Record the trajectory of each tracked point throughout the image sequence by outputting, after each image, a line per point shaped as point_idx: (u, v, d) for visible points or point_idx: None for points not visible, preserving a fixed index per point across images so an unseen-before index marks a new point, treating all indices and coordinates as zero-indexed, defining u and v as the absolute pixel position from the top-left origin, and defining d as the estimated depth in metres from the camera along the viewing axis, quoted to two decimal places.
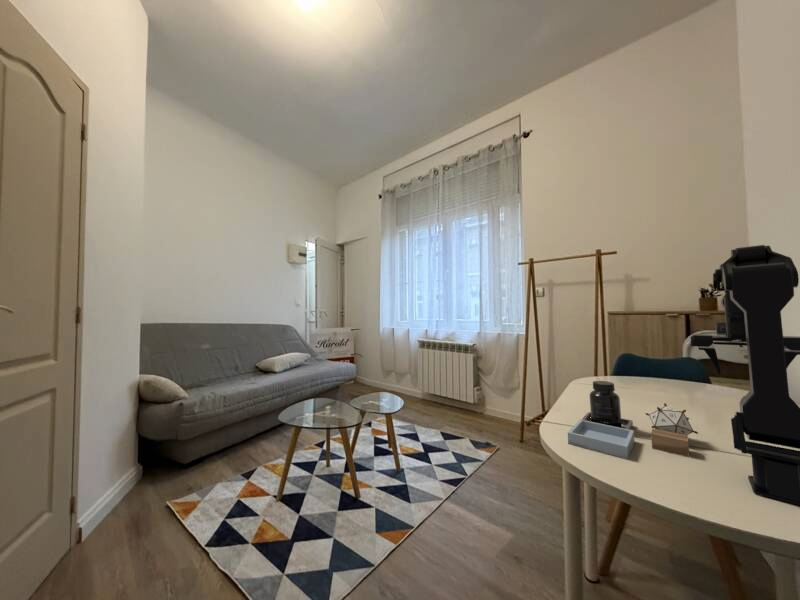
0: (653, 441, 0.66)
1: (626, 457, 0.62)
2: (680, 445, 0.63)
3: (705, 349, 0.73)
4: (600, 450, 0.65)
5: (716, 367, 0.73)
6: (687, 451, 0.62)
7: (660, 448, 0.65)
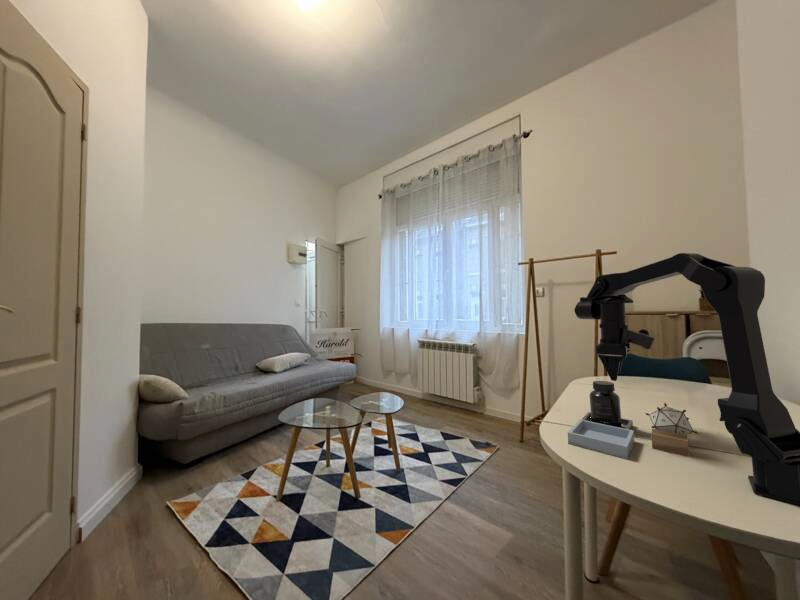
0: (653, 441, 0.66)
1: (626, 457, 0.62)
2: (680, 445, 0.63)
3: None
4: (600, 450, 0.65)
5: None
6: (687, 451, 0.62)
7: (660, 448, 0.65)
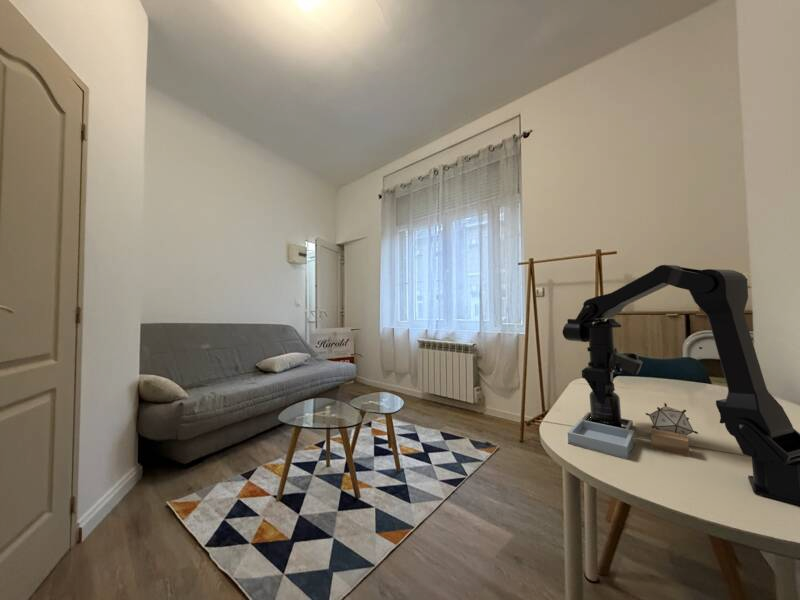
0: (653, 441, 0.66)
1: (626, 457, 0.62)
2: (680, 445, 0.63)
3: None
4: (600, 450, 0.65)
5: None
6: (687, 451, 0.62)
7: (660, 448, 0.65)
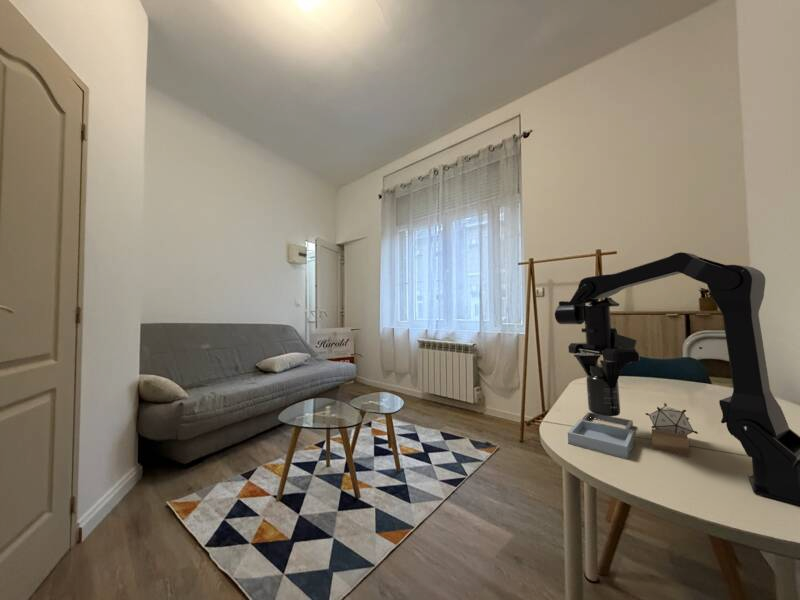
0: (654, 441, 0.66)
1: (626, 457, 0.62)
2: (681, 445, 0.63)
3: (575, 356, 0.81)
4: (600, 450, 0.65)
5: (586, 373, 0.79)
6: (688, 451, 0.62)
7: (661, 448, 0.65)
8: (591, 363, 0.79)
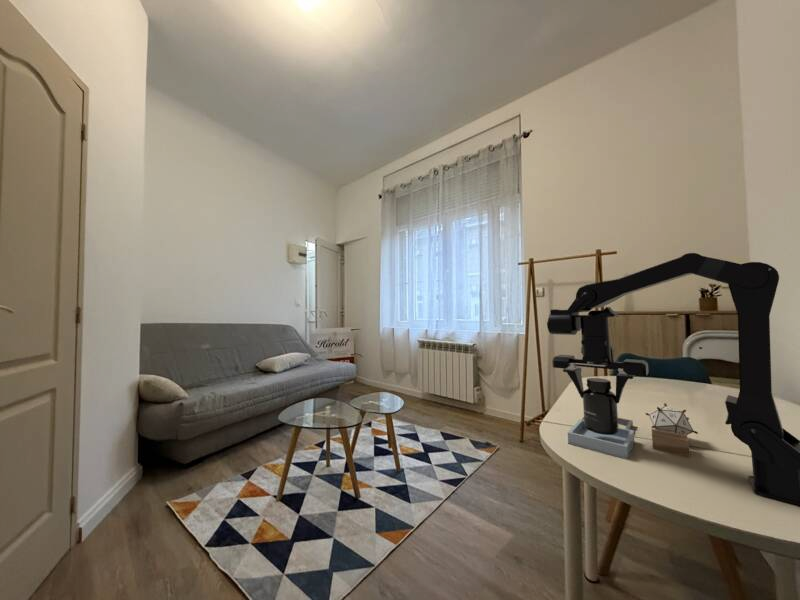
0: (654, 441, 0.66)
1: (626, 457, 0.62)
2: (681, 445, 0.63)
3: (567, 371, 0.72)
4: (600, 450, 0.65)
5: (578, 389, 0.72)
6: (688, 451, 0.62)
7: (661, 448, 0.65)
8: (580, 377, 0.73)
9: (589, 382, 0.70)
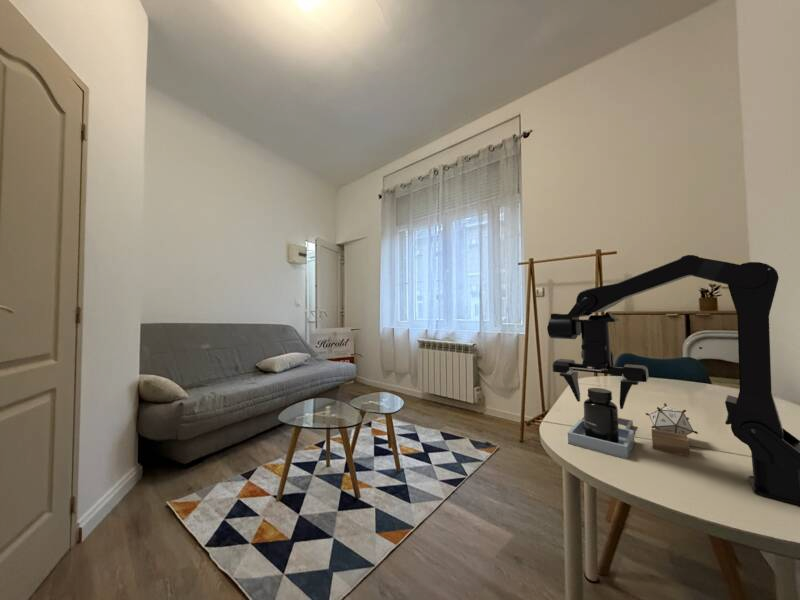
0: (654, 442, 0.66)
1: (626, 457, 0.62)
2: (681, 445, 0.63)
3: (564, 375, 0.73)
4: (600, 450, 0.65)
5: (574, 393, 0.73)
6: (688, 451, 0.62)
7: (661, 448, 0.65)
8: (576, 381, 0.74)
9: (590, 392, 0.70)
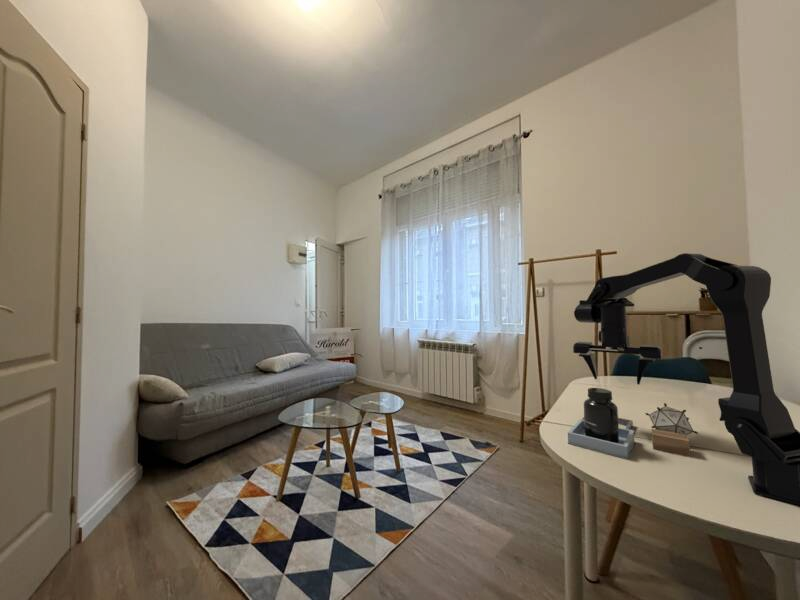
0: (654, 442, 0.66)
1: (626, 457, 0.62)
2: (681, 445, 0.63)
3: (583, 356, 0.81)
4: (600, 450, 0.65)
5: (592, 372, 0.80)
6: (688, 451, 0.62)
7: (661, 449, 0.65)
8: (594, 361, 0.81)
9: (590, 392, 0.70)
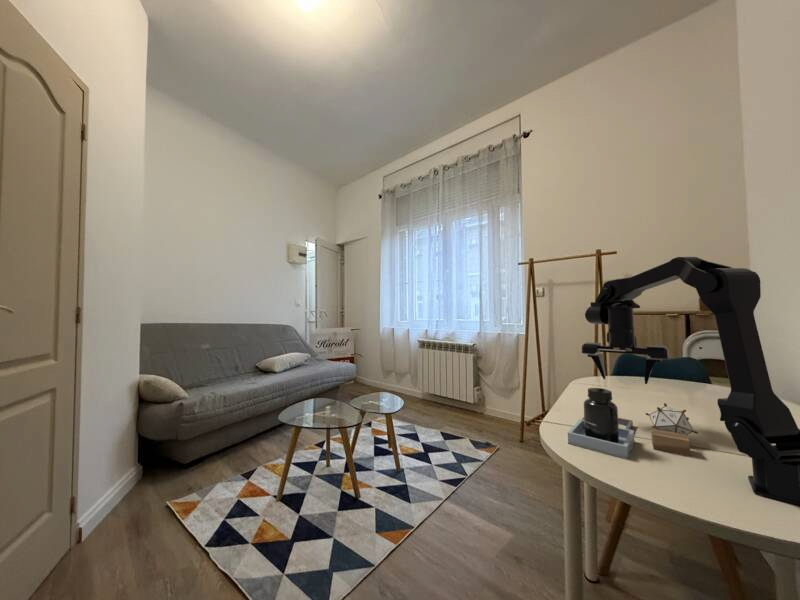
0: (655, 442, 0.65)
1: (626, 457, 0.62)
2: (681, 445, 0.63)
3: (591, 356, 0.83)
4: (600, 450, 0.65)
5: (601, 372, 0.83)
6: (689, 451, 0.62)
7: (662, 449, 0.65)
8: (602, 361, 0.84)
9: (590, 392, 0.70)
